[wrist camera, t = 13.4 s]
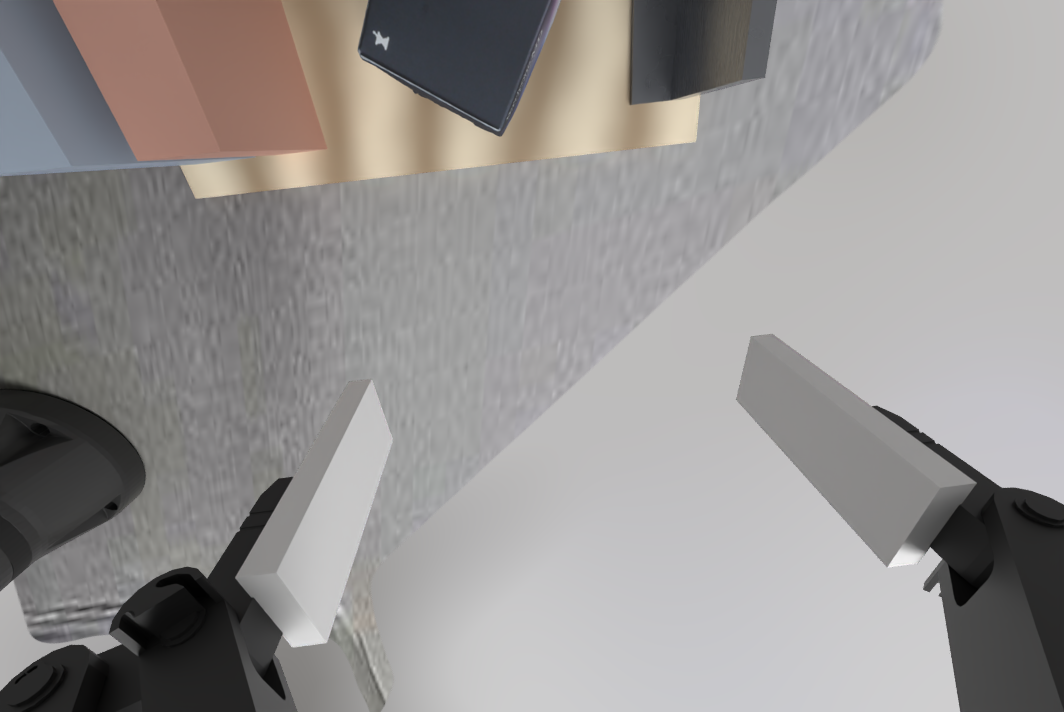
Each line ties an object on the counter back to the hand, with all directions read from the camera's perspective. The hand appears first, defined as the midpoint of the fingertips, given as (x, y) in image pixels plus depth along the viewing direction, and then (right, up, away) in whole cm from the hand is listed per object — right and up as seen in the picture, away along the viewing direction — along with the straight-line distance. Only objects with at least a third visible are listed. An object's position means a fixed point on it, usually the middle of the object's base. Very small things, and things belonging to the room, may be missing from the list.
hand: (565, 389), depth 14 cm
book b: (-17, +18, +10) cm, 26 cm away
